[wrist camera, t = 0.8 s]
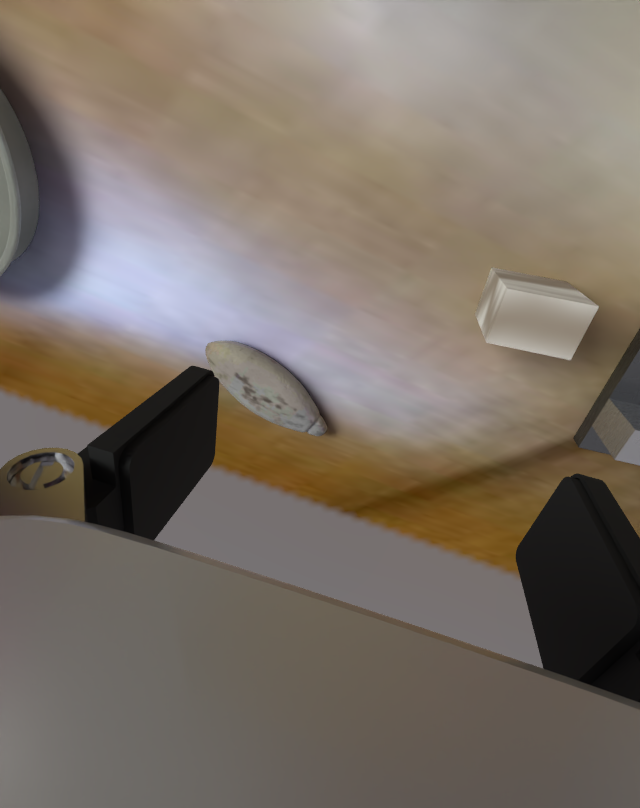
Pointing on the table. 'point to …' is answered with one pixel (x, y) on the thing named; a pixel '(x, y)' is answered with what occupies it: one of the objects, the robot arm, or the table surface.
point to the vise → (616, 412)
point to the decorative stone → (264, 386)
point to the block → (533, 313)
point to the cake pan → (15, 188)
